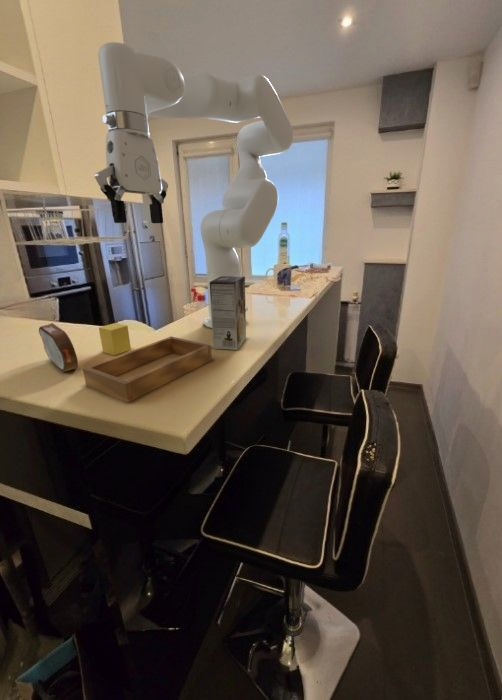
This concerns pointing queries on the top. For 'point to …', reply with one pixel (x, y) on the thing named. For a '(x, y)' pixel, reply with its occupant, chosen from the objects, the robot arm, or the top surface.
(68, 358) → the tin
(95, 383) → the wooden tray
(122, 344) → the block
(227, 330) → the coffee box
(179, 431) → the top surface
